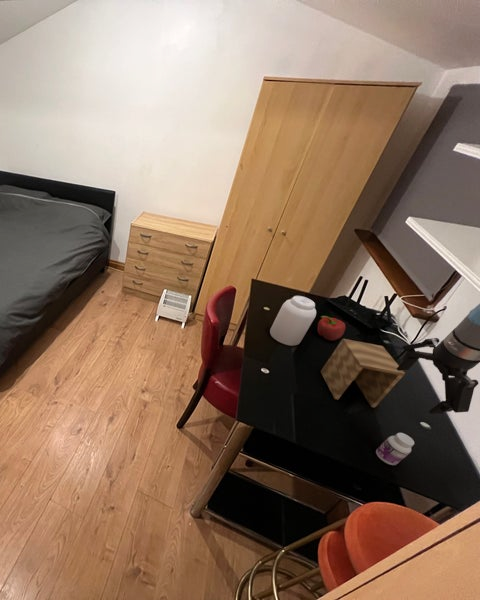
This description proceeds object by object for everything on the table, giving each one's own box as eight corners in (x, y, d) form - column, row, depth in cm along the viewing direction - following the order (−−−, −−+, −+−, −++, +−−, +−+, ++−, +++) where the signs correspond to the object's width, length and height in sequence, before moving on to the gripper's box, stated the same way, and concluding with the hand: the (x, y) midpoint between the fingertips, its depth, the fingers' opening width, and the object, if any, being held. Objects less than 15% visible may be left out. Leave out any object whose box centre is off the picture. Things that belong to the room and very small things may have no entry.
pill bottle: (372, 446, 101) (391, 427, 95) (393, 453, 99) (413, 435, 93) (377, 460, 96) (397, 441, 91) (399, 469, 95) (420, 450, 89)
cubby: (374, 407, 114) (405, 373, 104) (334, 398, 116) (360, 364, 106) (356, 379, 125) (382, 346, 116) (320, 371, 127) (342, 338, 118)
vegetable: (313, 339, 145) (323, 321, 139) (309, 326, 153) (319, 309, 147) (341, 346, 142) (353, 329, 136) (336, 333, 150) (347, 316, 144)
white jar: (278, 325, 152) (296, 289, 141) (305, 340, 143) (327, 303, 132) (263, 333, 146) (281, 296, 135) (291, 350, 137) (312, 312, 126)
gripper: (410, 312, 87) (376, 354, 102) (488, 398, 70) (434, 434, 85) (442, 308, 86) (404, 352, 101) (530, 394, 69) (468, 432, 84)
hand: (417, 389), depth 93 cm, fingers open, 13 cm apart
